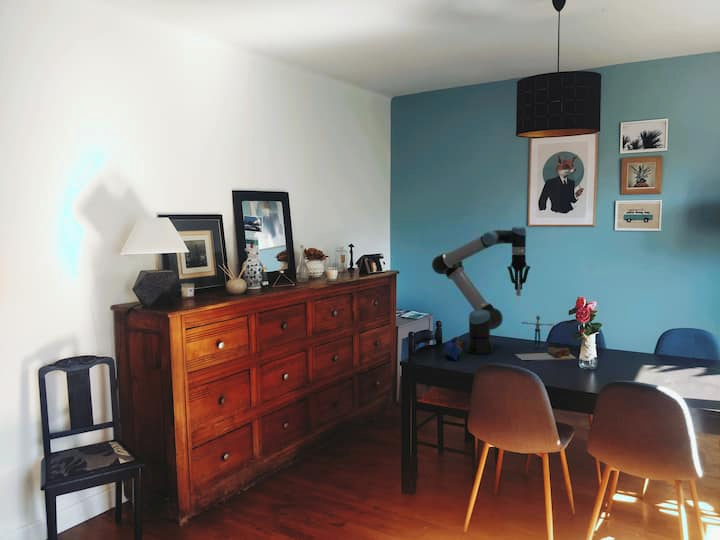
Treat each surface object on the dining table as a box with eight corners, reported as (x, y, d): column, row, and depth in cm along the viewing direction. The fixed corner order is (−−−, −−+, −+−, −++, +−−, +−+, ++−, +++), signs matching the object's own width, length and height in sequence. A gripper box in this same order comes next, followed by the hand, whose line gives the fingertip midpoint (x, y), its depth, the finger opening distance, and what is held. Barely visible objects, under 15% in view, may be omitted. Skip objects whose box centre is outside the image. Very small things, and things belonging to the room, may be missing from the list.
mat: (522, 361, 304) (522, 360, 304) (514, 355, 316) (514, 354, 316) (576, 358, 306) (576, 357, 305) (567, 353, 317) (567, 352, 317)
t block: (554, 358, 306) (554, 351, 306) (547, 353, 316) (547, 347, 315) (572, 357, 306) (572, 351, 306) (564, 352, 316) (564, 346, 316)
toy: (463, 355, 320) (462, 361, 306) (445, 355, 322) (444, 361, 308) (462, 335, 320) (461, 341, 305) (444, 336, 322) (443, 341, 307)
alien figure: (556, 348, 329) (557, 315, 327) (555, 350, 325) (555, 317, 323) (521, 344, 339) (521, 313, 337) (519, 347, 334) (519, 314, 332)
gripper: (509, 255, 315) (509, 296, 317) (532, 254, 316) (532, 296, 318) (505, 253, 322) (505, 294, 325) (527, 253, 323) (527, 294, 326)
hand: (518, 295), depth 322 cm, fingers closed
